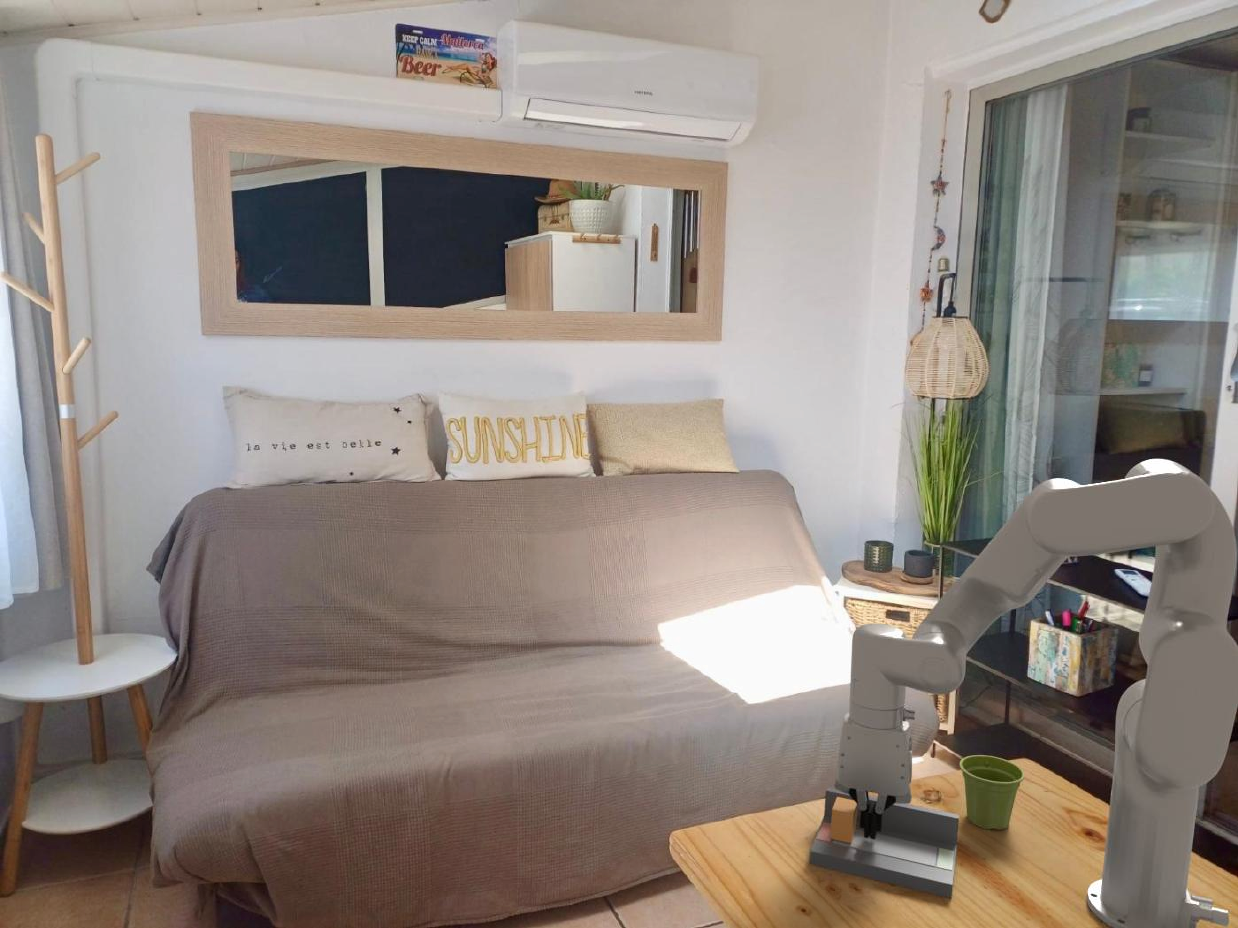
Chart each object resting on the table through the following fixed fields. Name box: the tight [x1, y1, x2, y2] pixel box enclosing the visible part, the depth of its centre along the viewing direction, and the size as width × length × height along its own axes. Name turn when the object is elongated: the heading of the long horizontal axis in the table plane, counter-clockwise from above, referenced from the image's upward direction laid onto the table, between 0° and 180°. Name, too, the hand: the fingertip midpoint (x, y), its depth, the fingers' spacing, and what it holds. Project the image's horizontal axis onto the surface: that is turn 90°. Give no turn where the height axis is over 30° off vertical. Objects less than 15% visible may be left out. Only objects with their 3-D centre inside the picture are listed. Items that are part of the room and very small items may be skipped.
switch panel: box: [809, 786, 960, 899], centre depth 132 cm, size 19×12×6 cm, turn 67°
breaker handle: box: [830, 797, 857, 843], centre depth 134 cm, size 3×4×4 cm
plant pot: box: [959, 754, 1025, 831], centre depth 143 cm, size 9×9×9 cm
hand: (870, 833), depth 132 cm, fingers closed
